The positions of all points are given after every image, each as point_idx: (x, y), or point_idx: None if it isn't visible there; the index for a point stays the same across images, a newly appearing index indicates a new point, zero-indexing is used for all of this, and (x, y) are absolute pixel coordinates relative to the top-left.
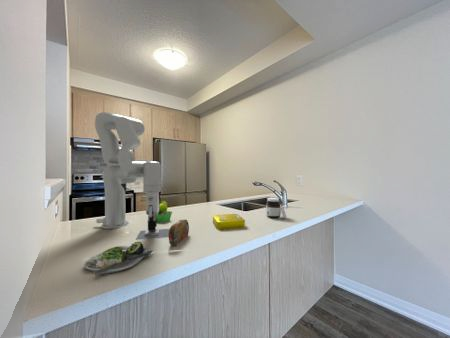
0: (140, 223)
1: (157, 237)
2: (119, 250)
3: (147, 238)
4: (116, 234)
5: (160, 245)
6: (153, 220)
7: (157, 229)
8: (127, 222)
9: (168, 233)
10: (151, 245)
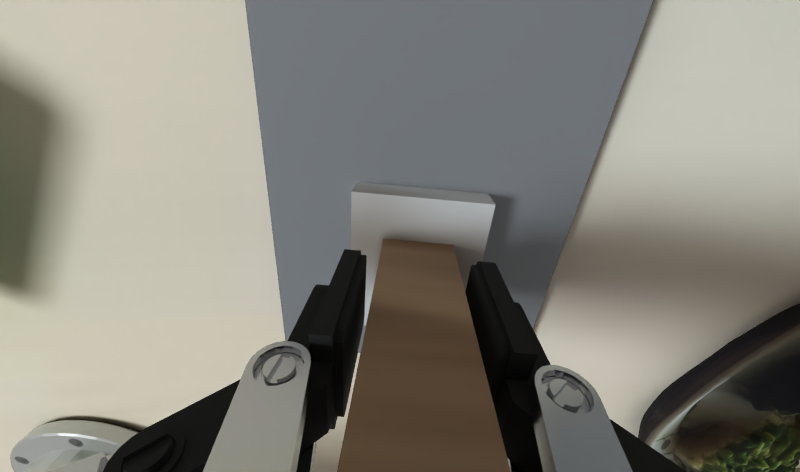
0: (27, 348)
1: (565, 206)
2: (786, 448)
3: (542, 292)
4: (318, 450)
5: (778, 172)
6: (584, 403)
7: (363, 218)
8: (67, 439)
9: (476, 65)
10: (706, 250)
